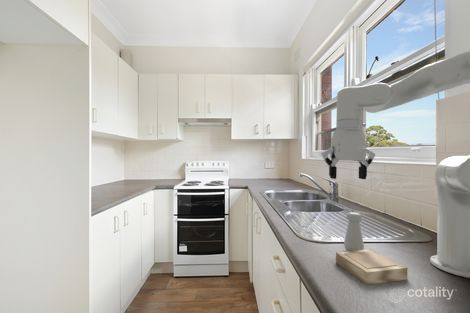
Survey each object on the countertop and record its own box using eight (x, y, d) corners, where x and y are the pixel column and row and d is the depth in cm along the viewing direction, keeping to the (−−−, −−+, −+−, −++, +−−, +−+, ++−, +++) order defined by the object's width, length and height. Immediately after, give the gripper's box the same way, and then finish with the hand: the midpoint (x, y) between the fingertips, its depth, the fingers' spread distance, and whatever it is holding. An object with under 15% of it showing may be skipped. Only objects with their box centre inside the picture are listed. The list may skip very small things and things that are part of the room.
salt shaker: (366, 257, 72) (366, 215, 72) (346, 255, 74) (346, 214, 74) (360, 250, 78) (360, 211, 78) (342, 248, 79) (342, 210, 79)
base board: (370, 259, 71) (371, 248, 71) (407, 279, 60) (407, 267, 60) (336, 262, 69) (336, 251, 69) (366, 284, 57) (367, 271, 57)
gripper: (368, 128, 80) (366, 177, 81) (318, 127, 80) (317, 177, 80) (382, 125, 73) (381, 180, 73) (327, 124, 72) (326, 179, 73)
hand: (347, 178), depth 77 cm, fingers open, 9 cm apart
